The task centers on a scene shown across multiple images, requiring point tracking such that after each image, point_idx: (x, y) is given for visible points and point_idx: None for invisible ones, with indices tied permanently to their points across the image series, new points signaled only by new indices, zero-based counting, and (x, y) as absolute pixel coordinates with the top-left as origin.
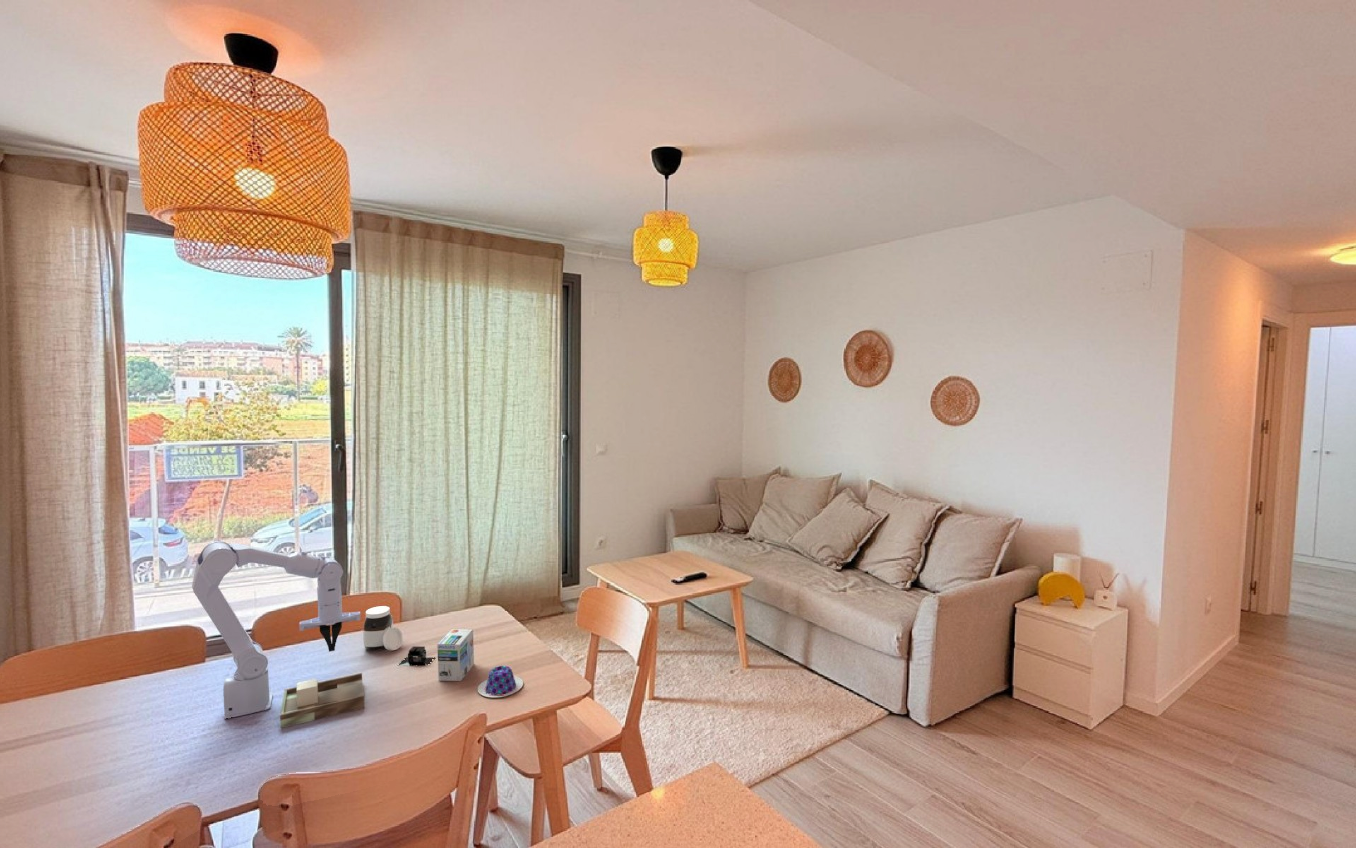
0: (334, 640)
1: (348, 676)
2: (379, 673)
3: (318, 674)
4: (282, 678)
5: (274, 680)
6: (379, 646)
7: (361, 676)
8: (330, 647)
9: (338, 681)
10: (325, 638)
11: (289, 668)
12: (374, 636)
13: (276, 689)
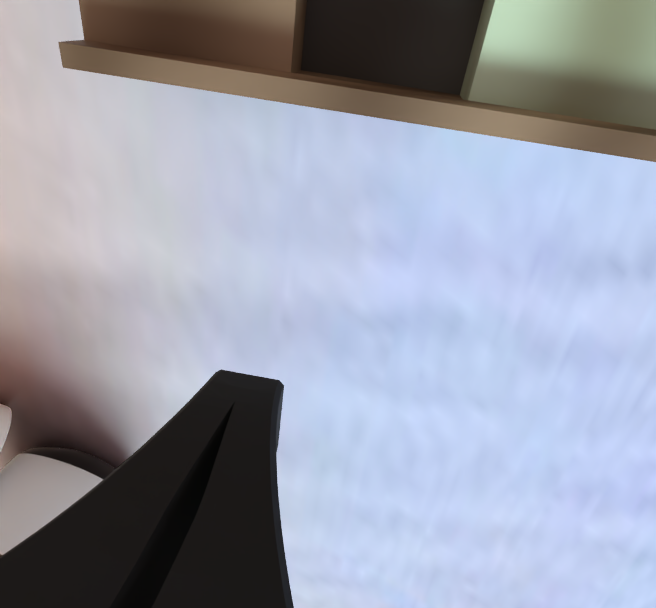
0: (134, 485)
1: (178, 64)
2: (21, 167)
3: (374, 390)
4: (543, 458)
5: (583, 462)
6: (50, 457)
7: (79, 43)
8: (246, 413)
9: (275, 72)
10: (269, 597)
11: (478, 523)
12: (29, 521)
13: (625, 362)
